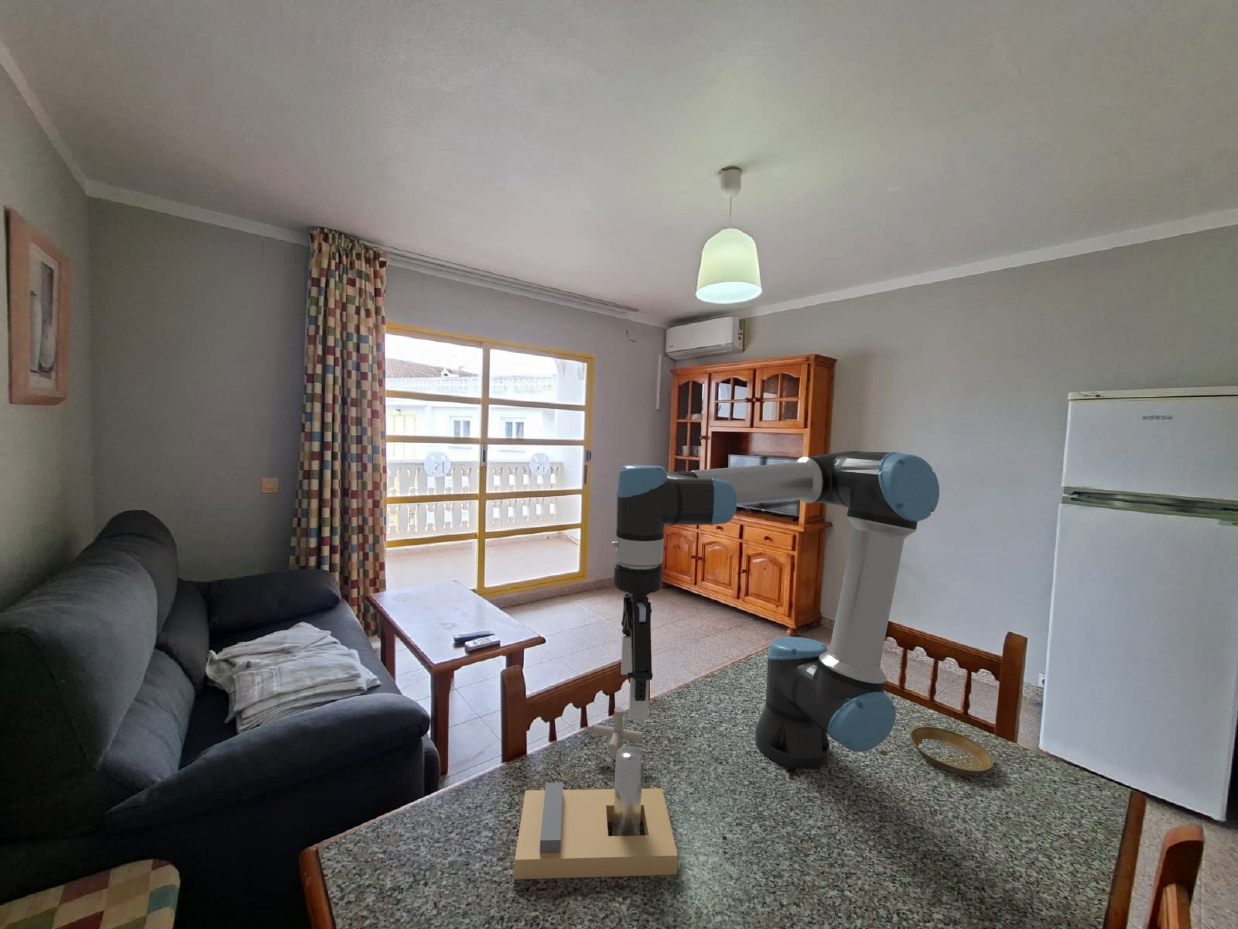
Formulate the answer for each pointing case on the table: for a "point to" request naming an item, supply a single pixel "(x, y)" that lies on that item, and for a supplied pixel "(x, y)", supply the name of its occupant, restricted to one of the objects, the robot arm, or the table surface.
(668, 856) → the jig
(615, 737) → the pipe connector
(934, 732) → the plant saucer
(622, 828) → the grey metal cylinder
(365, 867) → the table surface
